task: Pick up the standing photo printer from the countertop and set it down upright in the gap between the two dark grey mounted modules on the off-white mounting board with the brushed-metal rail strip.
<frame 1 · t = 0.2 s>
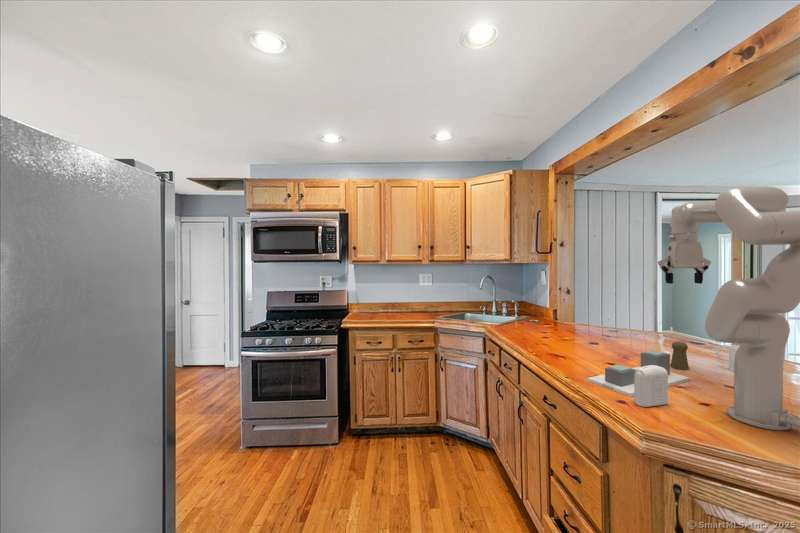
hand: (683, 283, 126), 37 cm above the counter, tool pointing down, fingers open, 9 cm apart
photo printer: (650, 404, 106), on the counter
cork: (679, 368, 140), on the counter
cup: (736, 371, 135), on the counter
mounting board: (638, 380, 126), on the counter
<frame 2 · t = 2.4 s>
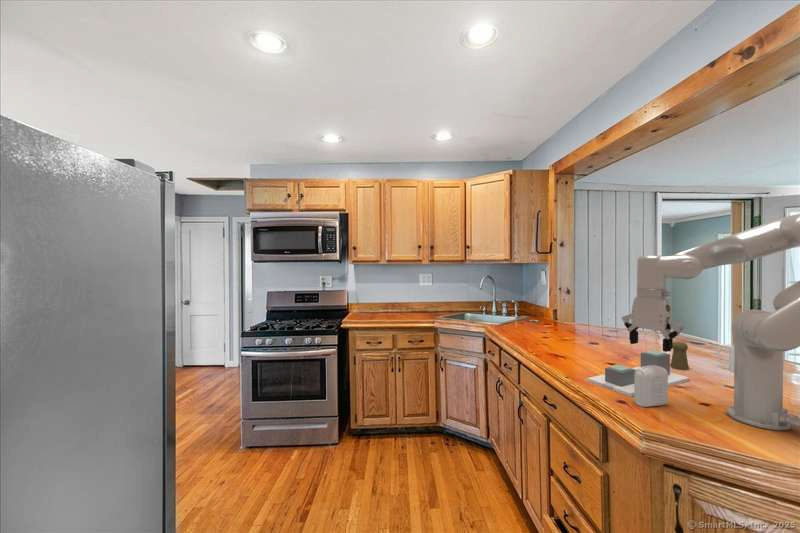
hand: (649, 347, 106), 18 cm above the counter, tool pointing down, fingers open, 9 cm apart
nothing on the counter moved.
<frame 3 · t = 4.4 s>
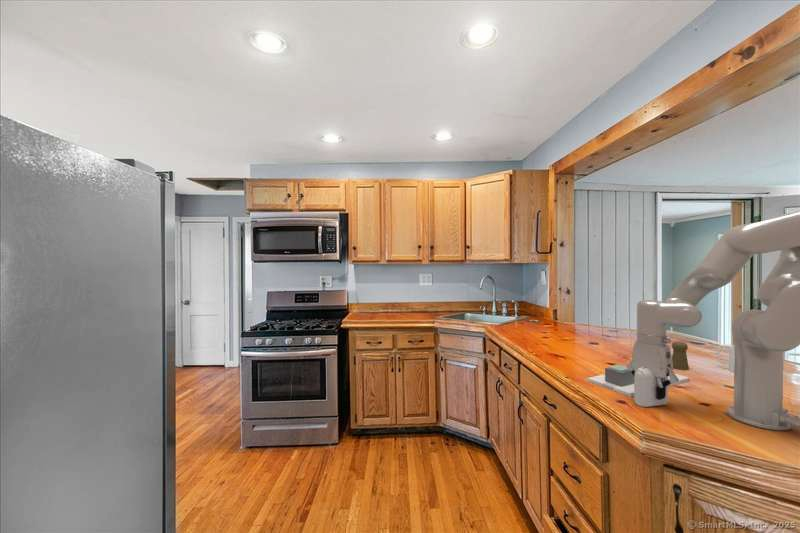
hand: (650, 394, 106), 3 cm above the counter, tool pointing down, fingers closed on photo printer, 4 cm apart
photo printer: (650, 404, 106), on the counter, touching gripper
everything else where it was.
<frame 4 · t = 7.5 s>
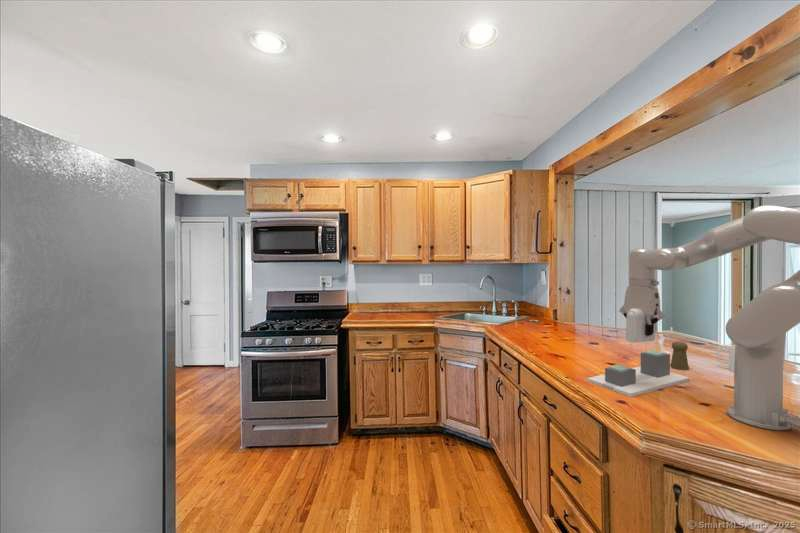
hand: (640, 333, 120), 20 cm above the counter, tool pointing down, fingers closed on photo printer, 4 cm apart
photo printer: (640, 341, 120), point 17 cm above the counter, touching gripper
everything else where it was.
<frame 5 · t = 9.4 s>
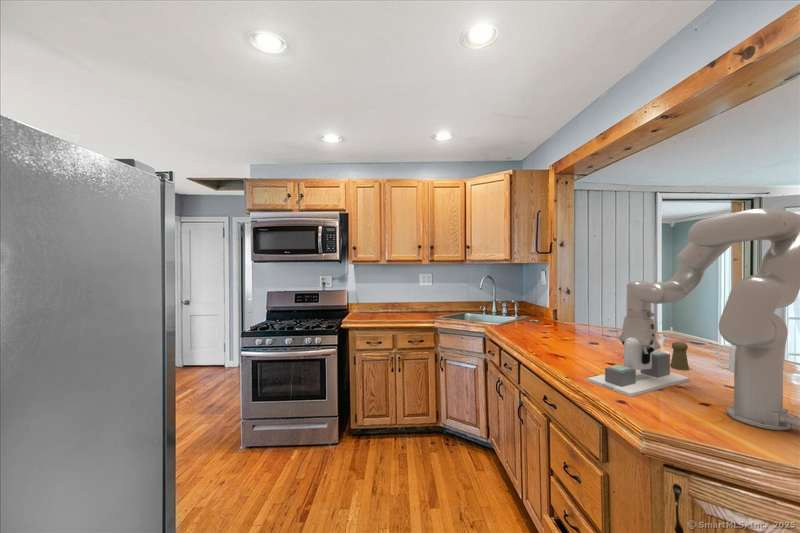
hand: (637, 361, 126), 8 cm above the counter, tool pointing down, fingers closed on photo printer, 4 cm apart
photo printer: (637, 369, 126), point 4 cm above the counter, touching gripper
everything else where it was.
when the fingers open (5 cm above the counter, at t = 10.5 s): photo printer drops 1 cm, resting on mounting board.
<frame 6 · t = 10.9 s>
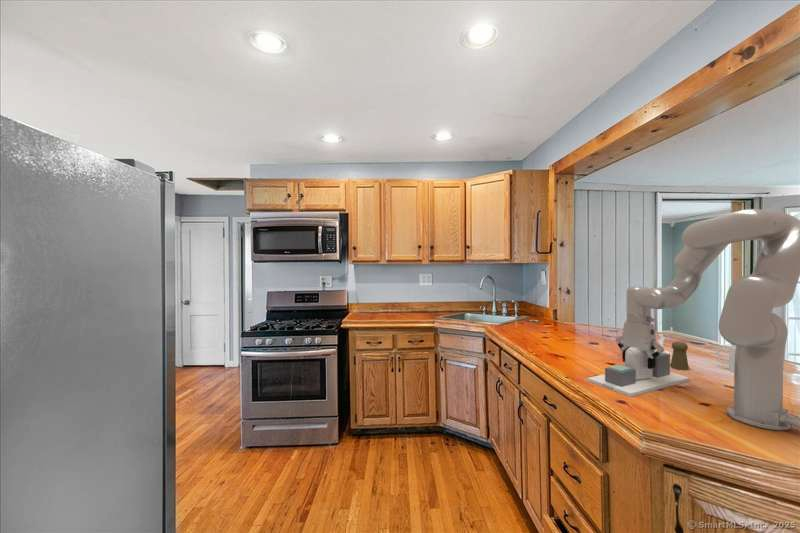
hand: (638, 364, 126), 6 cm above the counter, tool pointing down, fingers open, 8 cm apart
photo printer: (638, 378, 126), point 1 cm above the counter, touching mounting board
everything else where it was.
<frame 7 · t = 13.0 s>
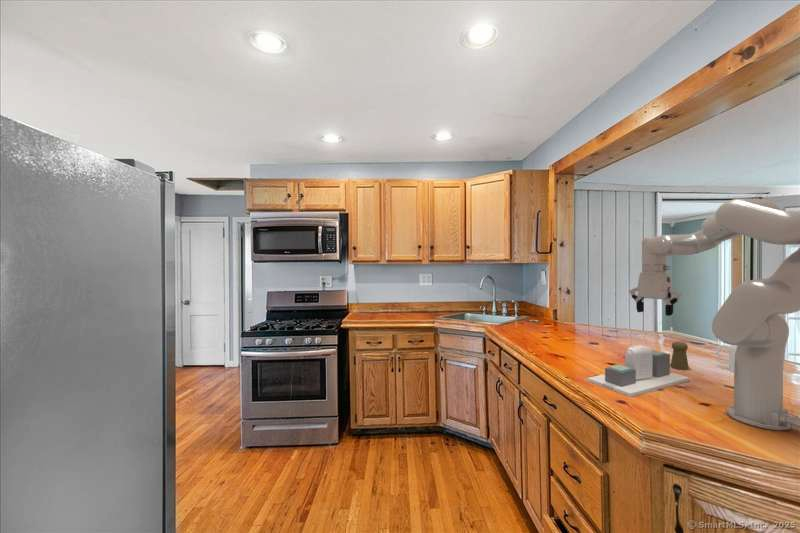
hand: (654, 313, 127), 25 cm above the counter, tool pointing down, fingers open, 9 cm apart
nothing on the counter moved.
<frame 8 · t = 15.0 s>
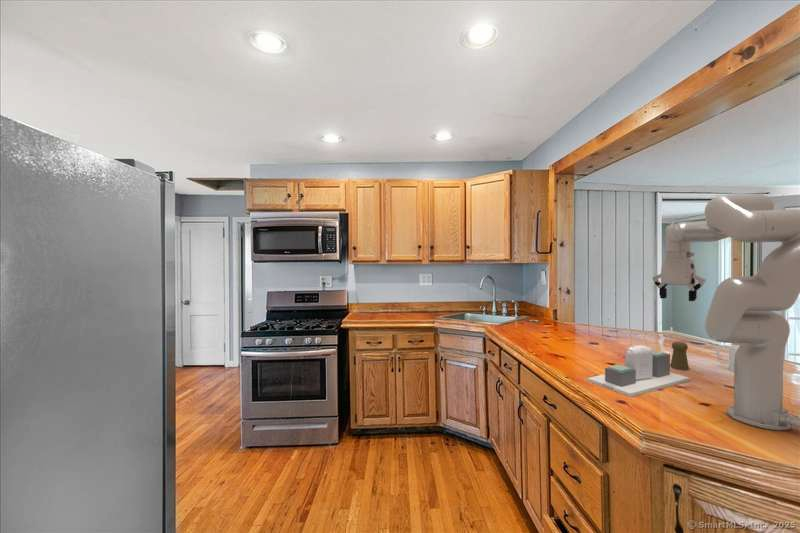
hand: (677, 299, 130), 30 cm above the counter, tool pointing down, fingers open, 9 cm apart
nothing on the counter moved.
at the end: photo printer inside the target area on the mounting board (0.3 cm from its centre), point 1.0 cm above the mounting board's base; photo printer tilted 0°; the gripper is holding nothing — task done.
